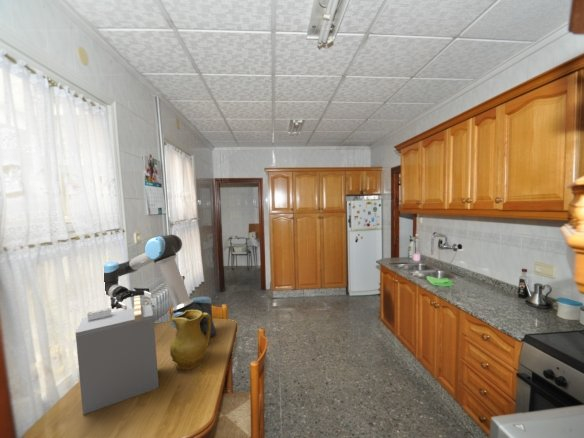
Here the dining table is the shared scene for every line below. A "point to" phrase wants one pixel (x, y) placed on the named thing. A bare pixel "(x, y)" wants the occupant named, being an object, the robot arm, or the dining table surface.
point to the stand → (116, 358)
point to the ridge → (99, 314)
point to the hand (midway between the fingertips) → (139, 301)
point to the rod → (137, 308)
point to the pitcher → (190, 339)
